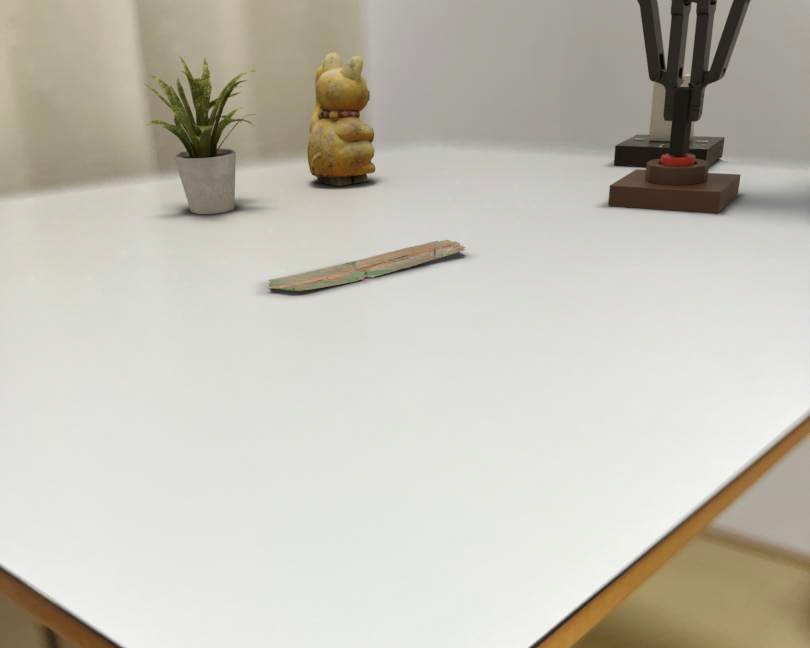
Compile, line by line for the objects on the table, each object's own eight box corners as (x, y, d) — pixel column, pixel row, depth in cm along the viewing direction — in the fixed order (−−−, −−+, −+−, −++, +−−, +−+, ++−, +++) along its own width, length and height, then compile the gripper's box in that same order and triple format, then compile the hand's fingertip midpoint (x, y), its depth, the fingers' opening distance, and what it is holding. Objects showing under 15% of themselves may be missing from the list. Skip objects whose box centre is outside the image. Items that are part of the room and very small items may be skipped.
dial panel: (722, 156, 128) (725, 135, 126) (704, 169, 120) (707, 147, 119) (635, 153, 133) (637, 132, 131) (613, 165, 125) (615, 144, 124)
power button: (697, 170, 105) (698, 153, 104) (688, 176, 102) (690, 159, 101) (664, 168, 106) (666, 152, 105) (656, 174, 103) (657, 157, 103)
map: (257, 291, 83) (255, 280, 82) (441, 239, 92) (440, 229, 92) (285, 304, 79) (283, 293, 79) (473, 249, 89) (473, 238, 88)
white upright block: (692, 140, 125) (700, 71, 120) (689, 142, 123) (697, 72, 119) (651, 139, 127) (657, 71, 123) (648, 141, 126) (654, 72, 121)
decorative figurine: (388, 180, 122) (383, 51, 114) (344, 192, 117) (335, 57, 109) (336, 174, 128) (327, 50, 120) (291, 184, 123) (279, 55, 115)
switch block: (737, 194, 107) (743, 157, 105) (717, 213, 99) (723, 173, 97) (634, 188, 112) (637, 152, 110) (608, 206, 104) (610, 168, 102)
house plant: (291, 215, 107) (275, 54, 98) (168, 230, 103) (141, 63, 94) (263, 193, 118) (247, 47, 110) (152, 205, 114) (126, 55, 106)
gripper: (782, -110, 91) (746, 150, 103) (649, -100, 96) (630, 146, 109) (768, -114, 85) (732, 162, 97) (628, -103, 91) (610, 156, 103)
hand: (678, 153), depth 103 cm, fingers closed
